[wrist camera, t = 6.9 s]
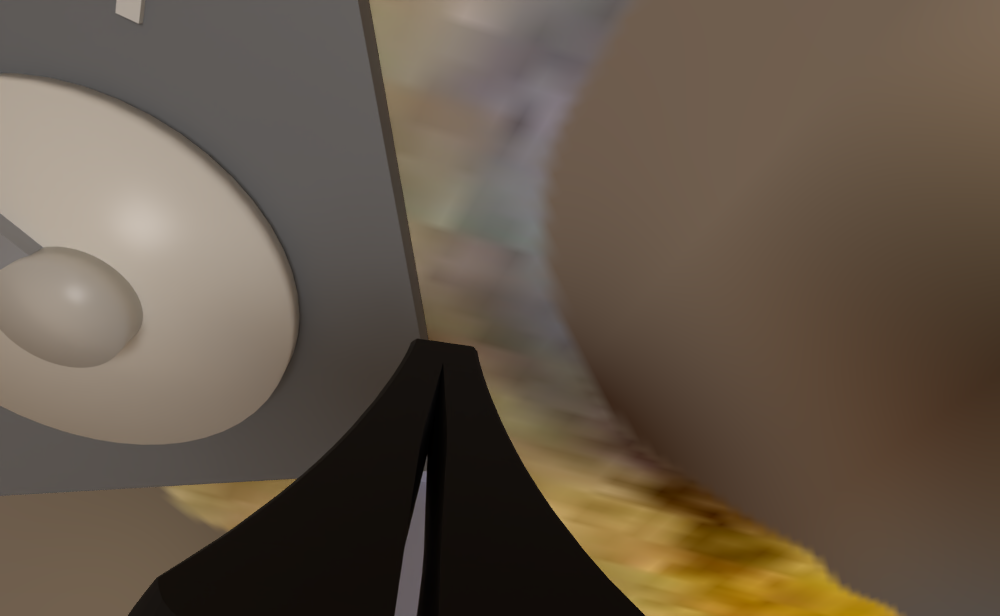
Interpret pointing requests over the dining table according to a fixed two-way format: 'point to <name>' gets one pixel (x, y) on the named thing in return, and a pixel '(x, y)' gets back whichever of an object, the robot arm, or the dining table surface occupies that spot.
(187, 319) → the dial
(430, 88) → the dining table surface
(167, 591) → the robot arm
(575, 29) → the dining table surface
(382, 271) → the dial plate
